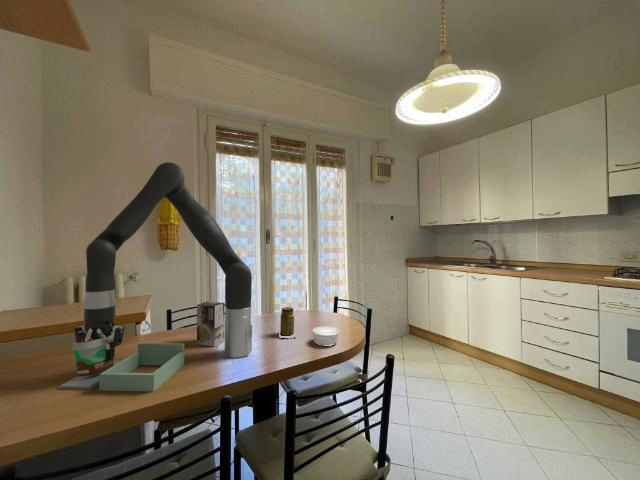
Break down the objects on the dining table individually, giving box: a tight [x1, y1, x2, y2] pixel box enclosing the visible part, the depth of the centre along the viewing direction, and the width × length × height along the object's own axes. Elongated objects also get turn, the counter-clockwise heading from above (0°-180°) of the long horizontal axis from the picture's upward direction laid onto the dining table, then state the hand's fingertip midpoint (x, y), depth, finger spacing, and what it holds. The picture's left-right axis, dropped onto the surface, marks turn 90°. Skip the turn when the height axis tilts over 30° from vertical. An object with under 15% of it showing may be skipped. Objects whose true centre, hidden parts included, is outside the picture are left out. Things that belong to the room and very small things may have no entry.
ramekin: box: [312, 326, 340, 345], centre depth 115 cm, size 11×11×5 cm
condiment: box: [278, 306, 295, 340], centre depth 123 cm, size 7×8×12 cm
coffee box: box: [196, 301, 225, 348], centre depth 114 cm, size 9×6×16 cm
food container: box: [71, 330, 115, 376], centre depth 85 cm, size 12×6×10 cm, turn 170°
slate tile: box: [58, 361, 120, 391], centre depth 85 cm, size 9×16×1 cm, turn 0°
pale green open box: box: [98, 342, 185, 392], centre depth 85 cm, size 15×17×7 cm
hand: (99, 360), depth 85 cm, fingers closed on food container, 5 cm apart
